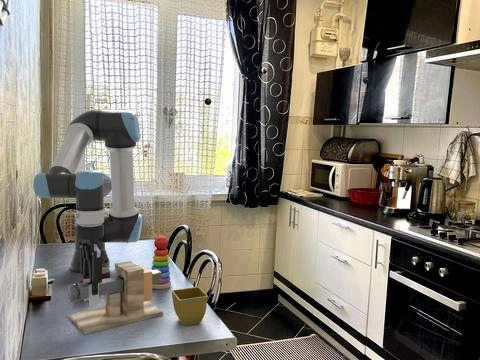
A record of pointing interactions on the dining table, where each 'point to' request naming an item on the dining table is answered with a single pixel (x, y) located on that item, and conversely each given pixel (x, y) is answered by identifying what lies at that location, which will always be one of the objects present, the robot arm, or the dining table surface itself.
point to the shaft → (105, 286)
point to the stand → (119, 303)
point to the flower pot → (189, 305)
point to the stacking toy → (161, 262)
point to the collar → (147, 284)
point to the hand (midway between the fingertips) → (91, 302)
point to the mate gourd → (105, 272)
